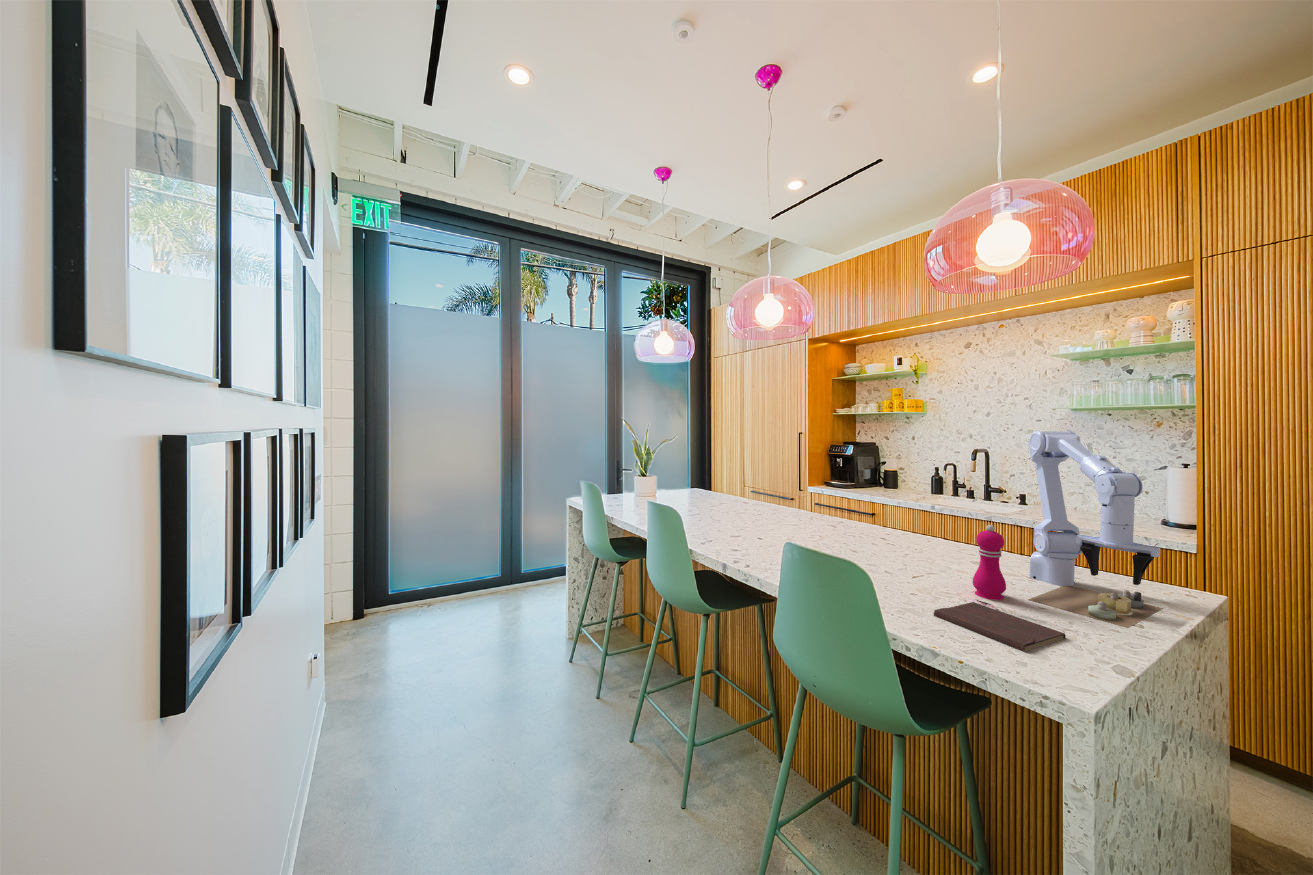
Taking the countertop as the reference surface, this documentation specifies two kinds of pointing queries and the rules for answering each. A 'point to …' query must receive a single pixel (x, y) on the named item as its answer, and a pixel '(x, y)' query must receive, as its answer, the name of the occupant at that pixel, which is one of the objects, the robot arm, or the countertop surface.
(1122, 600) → the brass idler gear
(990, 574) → the pepper mill
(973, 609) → the notebook
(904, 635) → the countertop surface
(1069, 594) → the board
